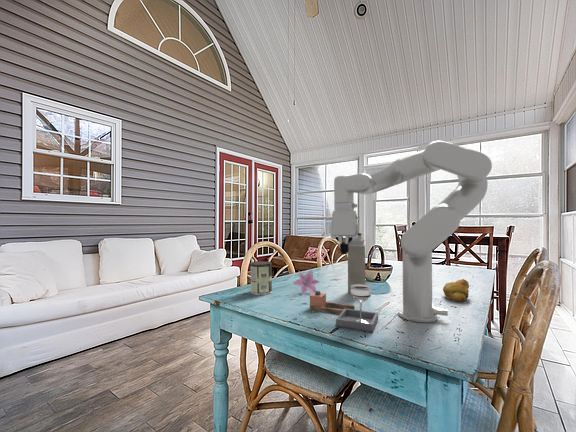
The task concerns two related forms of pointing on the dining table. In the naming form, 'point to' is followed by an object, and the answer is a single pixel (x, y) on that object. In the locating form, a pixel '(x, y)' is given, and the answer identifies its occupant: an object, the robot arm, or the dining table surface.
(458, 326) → the dining table surface
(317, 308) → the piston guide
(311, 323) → the dining table surface
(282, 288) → the dining table surface
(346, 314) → the tray
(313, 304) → the piston block
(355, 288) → the wineglass
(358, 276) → the thermos bottle
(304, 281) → the lily
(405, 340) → the dining table surface
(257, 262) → the coffee can
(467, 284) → the bread roll
